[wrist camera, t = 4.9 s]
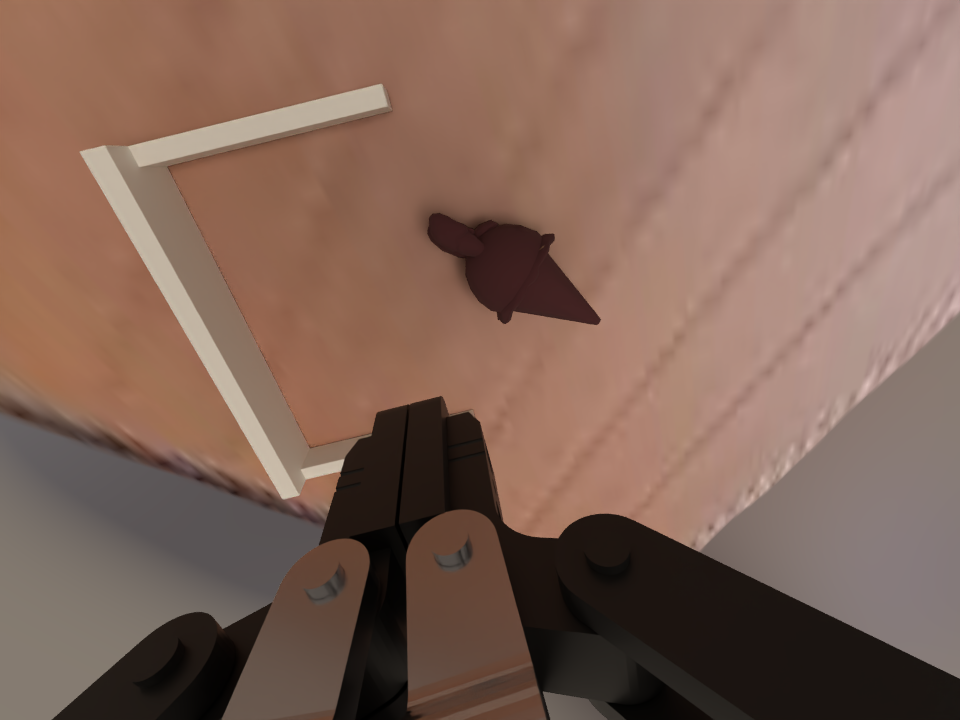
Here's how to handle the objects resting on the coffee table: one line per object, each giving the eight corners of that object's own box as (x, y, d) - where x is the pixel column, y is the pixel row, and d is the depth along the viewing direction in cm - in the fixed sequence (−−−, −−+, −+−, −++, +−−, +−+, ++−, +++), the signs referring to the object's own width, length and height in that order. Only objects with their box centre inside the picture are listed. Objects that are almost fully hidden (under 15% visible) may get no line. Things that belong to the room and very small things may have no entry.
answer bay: (386, 90, 28) (377, 77, 24) (475, 419, 40) (480, 452, 36) (135, 152, 28) (79, 151, 24) (299, 461, 40) (282, 499, 36)
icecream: (647, 279, 29) (457, 159, 26) (593, 372, 30) (402, 267, 27) (604, 280, 36) (449, 185, 33) (561, 355, 36) (405, 270, 33)
